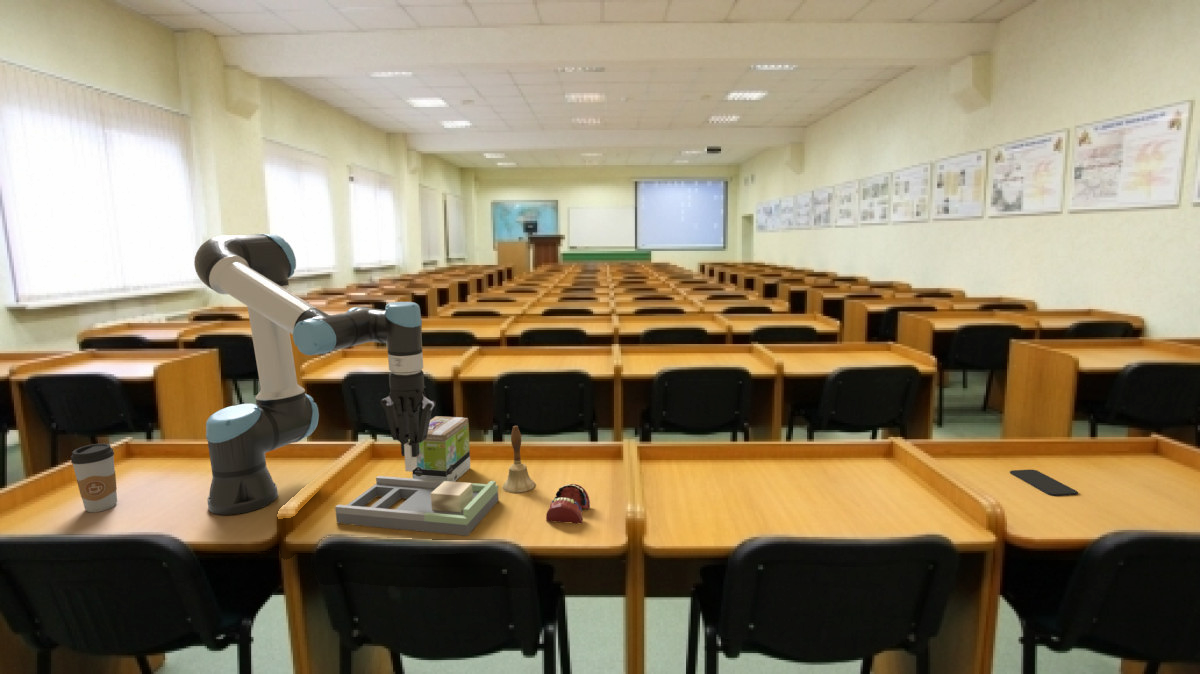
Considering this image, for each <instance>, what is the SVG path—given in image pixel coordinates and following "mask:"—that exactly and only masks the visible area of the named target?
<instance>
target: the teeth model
mask: <svg viewBox="0 0 1200 674" xmlns="http://www.w3.org/2000/svg"><path fill="white" fill-rule="evenodd" d="M590 501H591V500H590V497H589V494H588V492H587V491H586V489H585V488H584V487H583V486H581V485H579V484H576V483H571V484H570V483H569V484H566V485H564V484H563V486H560V487H559V488H558V491H557V492H556V493H555V497H554V498H553V499H552V501H551V502H550V506H549V508H548V510H547V512H546V515H545V521H546V522H552V521H556V522H555V523H565V522H572V523H571V524H578V523H581V524H582V523H583V513H582V511H583V510H584V509H586V510H587V509H591V502H590ZM582 509H583V510H582Z"/></svg>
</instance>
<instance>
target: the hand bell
mask: <svg viewBox="0 0 1200 674" xmlns="http://www.w3.org/2000/svg"><path fill="white" fill-rule="evenodd" d="M510 441H511V446H512V448H513V464H511V465H510V466H509V467H508V476H507V479H506V480H505V482H504V483H503V485H502V489H503V491H504V492H508V493H511V494H512V493H513V494H520V493H521V494H522V493H525V492H528V491H531V490H533V489H534V488H535V487H536V482H535V481H534V480H533V479H532V478H531V477H530V475H529V472H528V468H527V465H526V464H525V463H522V458H521V446H522V434H521V432H520V429H519V426H518V425H514V426H512V430H511V435H510Z"/></svg>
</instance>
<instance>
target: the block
mask: <svg viewBox="0 0 1200 674" xmlns="http://www.w3.org/2000/svg"><path fill="white" fill-rule="evenodd" d="M464 482H465V481H464ZM464 482H462V481H461V482H460V481H455V482H451V481H444V482H443V483H442V484H441V485H439V486H438V487H437V488H436V489H435V490H434V491H433V492H431V505H432V510H441V511H452V512H461V511H462V510H463V509H464V508H465V507H466V506H467V505H468V504H469V503H470V502H471V501H472V500H473V490H472V483H473V482H465V483H464Z"/></svg>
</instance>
